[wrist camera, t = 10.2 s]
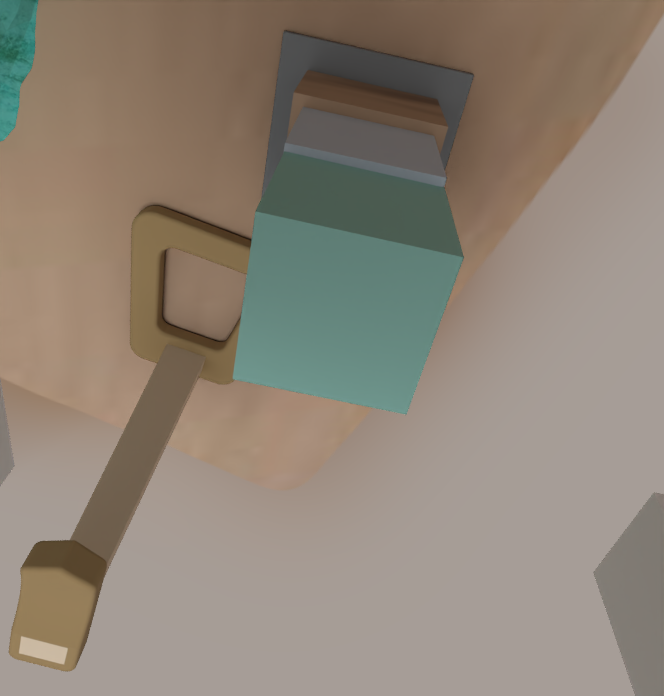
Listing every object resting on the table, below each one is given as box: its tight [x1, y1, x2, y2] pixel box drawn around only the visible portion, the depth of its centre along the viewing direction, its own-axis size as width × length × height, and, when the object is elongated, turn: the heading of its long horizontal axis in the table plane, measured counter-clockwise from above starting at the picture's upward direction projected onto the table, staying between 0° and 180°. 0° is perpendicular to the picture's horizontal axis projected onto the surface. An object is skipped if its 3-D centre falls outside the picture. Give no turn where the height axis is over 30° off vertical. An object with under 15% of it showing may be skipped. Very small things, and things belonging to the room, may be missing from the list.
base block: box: [287, 70, 448, 154], centre depth 30 cm, size 7×7×6 cm
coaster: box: [261, 31, 474, 199], centre depth 33 cm, size 10×10×1 cm
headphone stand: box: [9, 206, 251, 671], centre depth 30 cm, size 10×11×22 cm
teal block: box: [233, 151, 464, 414], centre depth 21 cm, size 6×6×6 cm
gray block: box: [284, 107, 447, 187], centre depth 25 cm, size 6×6×6 cm
